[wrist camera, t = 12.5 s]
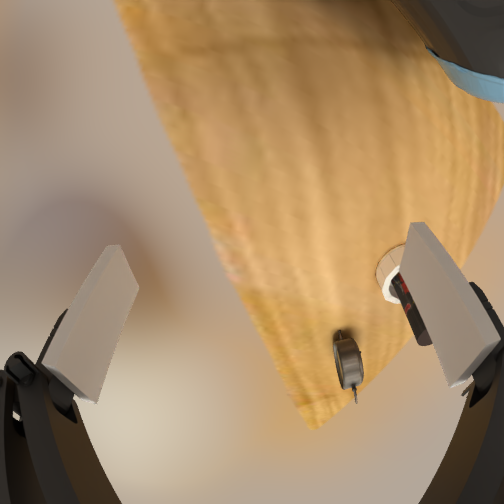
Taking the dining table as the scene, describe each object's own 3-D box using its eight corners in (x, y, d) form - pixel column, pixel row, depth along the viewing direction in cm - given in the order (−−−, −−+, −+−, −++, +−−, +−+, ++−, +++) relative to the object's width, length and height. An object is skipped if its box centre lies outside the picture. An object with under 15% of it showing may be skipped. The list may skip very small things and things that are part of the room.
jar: (382, 244, 43) (390, 260, 40) (430, 242, 43) (441, 256, 39) (370, 289, 50) (376, 305, 46) (415, 285, 49) (423, 299, 46)
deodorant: (421, 261, 44) (457, 323, 32) (404, 284, 48) (432, 347, 36) (400, 252, 43) (436, 318, 31) (382, 277, 47) (410, 344, 35)
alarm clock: (331, 328, 56) (344, 396, 43) (355, 323, 55) (373, 389, 42) (332, 354, 63) (342, 414, 50) (354, 349, 62) (367, 408, 49)
